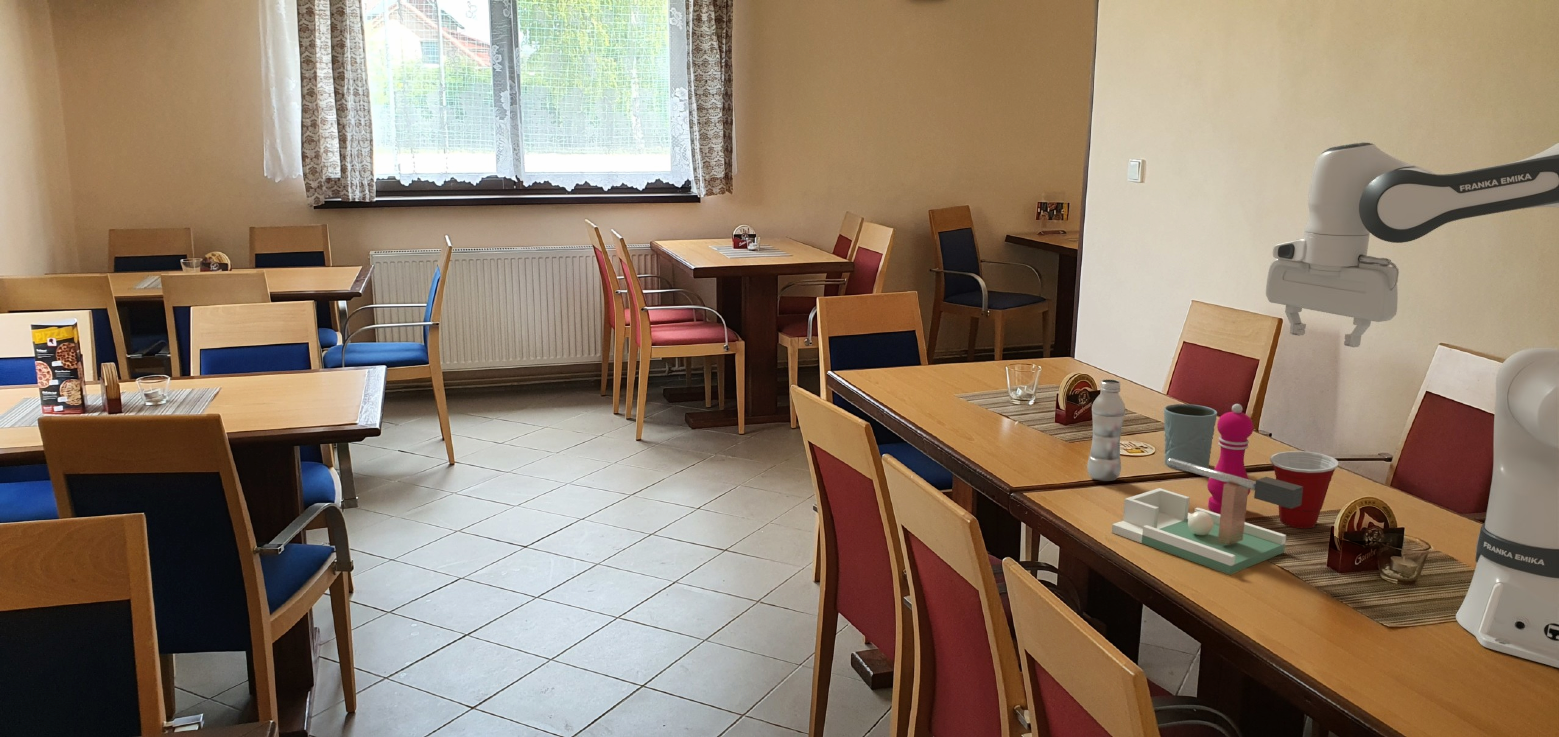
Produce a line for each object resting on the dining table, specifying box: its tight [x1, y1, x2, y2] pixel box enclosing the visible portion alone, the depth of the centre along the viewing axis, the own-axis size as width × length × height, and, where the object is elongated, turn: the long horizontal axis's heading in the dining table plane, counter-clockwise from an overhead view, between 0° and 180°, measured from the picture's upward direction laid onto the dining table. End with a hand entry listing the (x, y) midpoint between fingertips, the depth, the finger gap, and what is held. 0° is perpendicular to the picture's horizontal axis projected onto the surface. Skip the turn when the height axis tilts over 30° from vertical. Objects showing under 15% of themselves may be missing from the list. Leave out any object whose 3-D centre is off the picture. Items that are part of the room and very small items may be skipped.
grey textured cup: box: [1163, 403, 1218, 473], centre depth 220 cm, size 10×10×12 cm
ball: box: [1188, 511, 1213, 535], centre depth 179 cm, size 4×4×4 cm
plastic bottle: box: [1086, 379, 1126, 482], centre depth 210 cm, size 6×7×20 cm
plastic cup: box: [1269, 450, 1339, 529], centre depth 188 cm, size 11×11×12 cm
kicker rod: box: [1167, 458, 1303, 545], centre depth 174 cm, size 23×4×12 cm, turn 37°
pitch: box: [1111, 487, 1287, 576], centre depth 179 cm, size 22×16×6 cm
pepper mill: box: [1206, 403, 1254, 515], centre depth 193 cm, size 7×7×20 cm
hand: (1323, 340), depth 166 cm, fingers open, 8 cm apart
